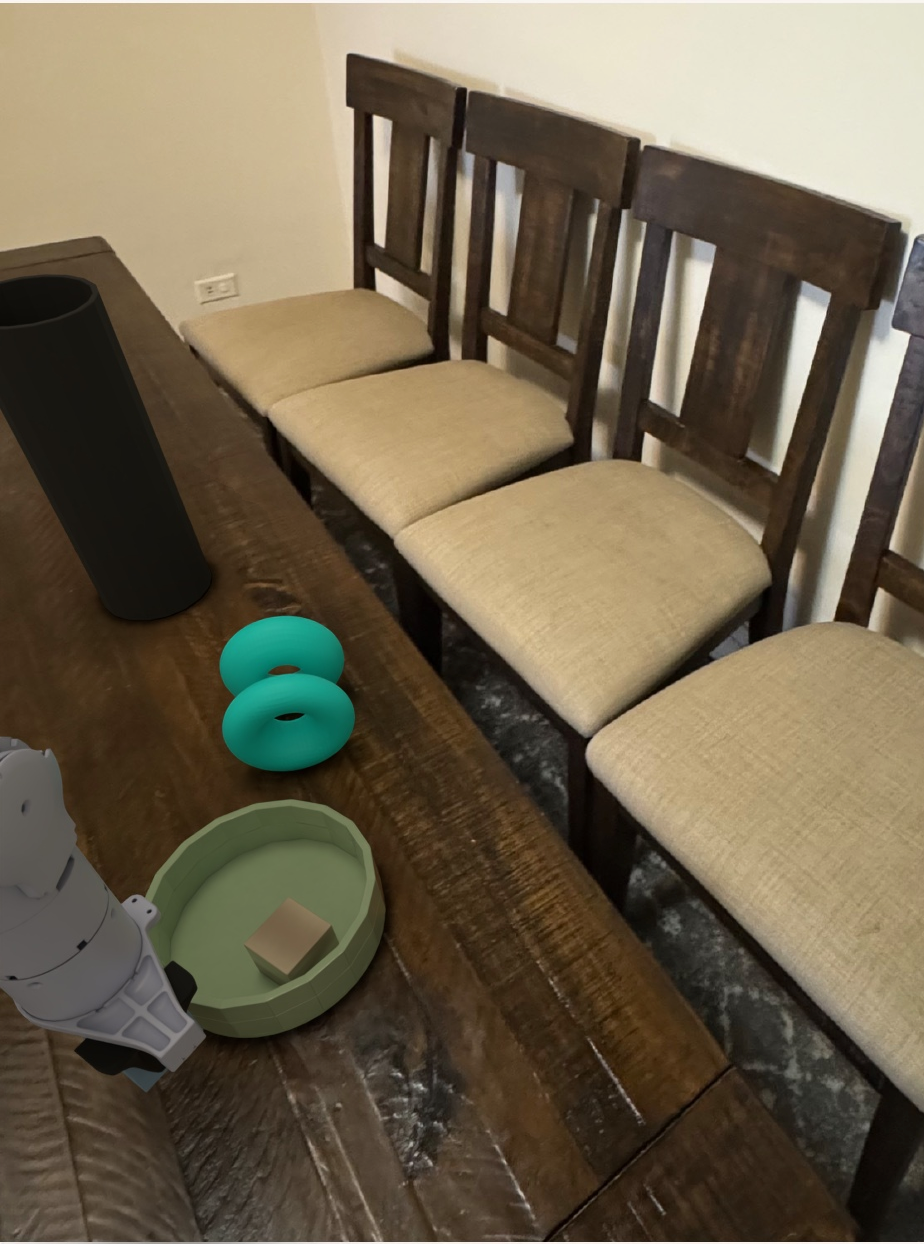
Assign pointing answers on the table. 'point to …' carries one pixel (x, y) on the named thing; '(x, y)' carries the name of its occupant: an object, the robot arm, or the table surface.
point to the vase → (95, 447)
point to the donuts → (285, 694)
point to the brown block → (290, 942)
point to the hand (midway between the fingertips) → (145, 1033)
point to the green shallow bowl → (266, 912)
